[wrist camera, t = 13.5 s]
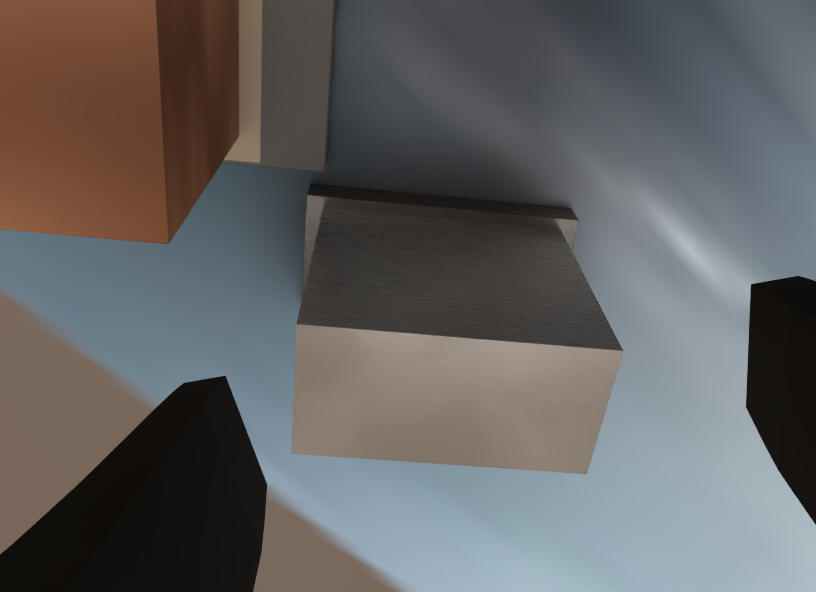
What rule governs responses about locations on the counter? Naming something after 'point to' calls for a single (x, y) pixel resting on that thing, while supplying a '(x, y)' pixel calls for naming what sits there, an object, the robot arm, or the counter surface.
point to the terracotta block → (114, 113)
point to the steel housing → (447, 334)
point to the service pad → (284, 83)
